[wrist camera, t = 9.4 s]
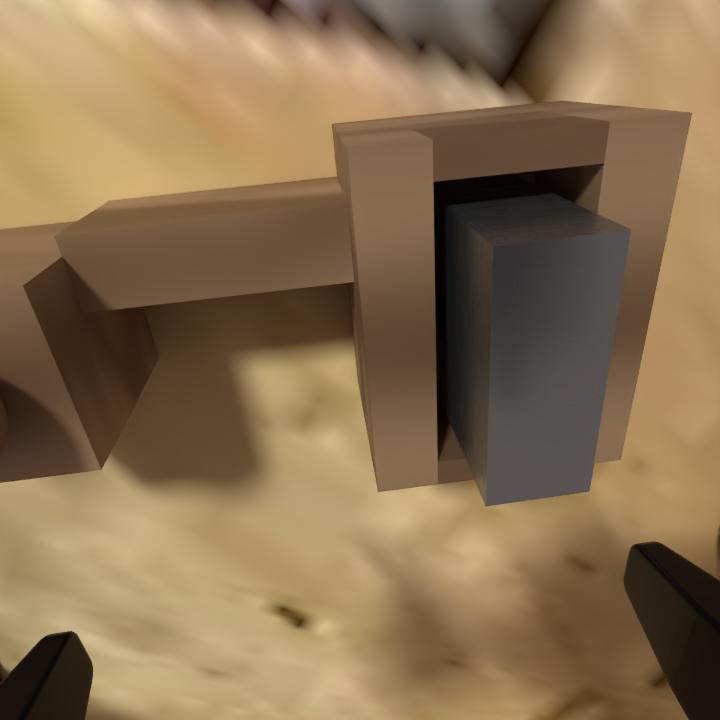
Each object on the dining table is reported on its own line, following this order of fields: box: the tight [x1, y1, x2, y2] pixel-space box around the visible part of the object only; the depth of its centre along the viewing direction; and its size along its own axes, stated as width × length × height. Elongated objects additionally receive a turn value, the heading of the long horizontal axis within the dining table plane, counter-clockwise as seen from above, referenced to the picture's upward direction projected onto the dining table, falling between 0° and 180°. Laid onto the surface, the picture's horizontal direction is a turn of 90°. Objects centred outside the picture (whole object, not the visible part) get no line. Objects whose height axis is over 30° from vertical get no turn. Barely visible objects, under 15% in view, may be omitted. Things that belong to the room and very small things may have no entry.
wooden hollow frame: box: [0, 101, 692, 492], centre depth 14 cm, size 9×19×9 cm, turn 95°
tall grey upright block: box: [433, 173, 631, 506], centre depth 13 cm, size 6×2×6 cm, turn 6°
